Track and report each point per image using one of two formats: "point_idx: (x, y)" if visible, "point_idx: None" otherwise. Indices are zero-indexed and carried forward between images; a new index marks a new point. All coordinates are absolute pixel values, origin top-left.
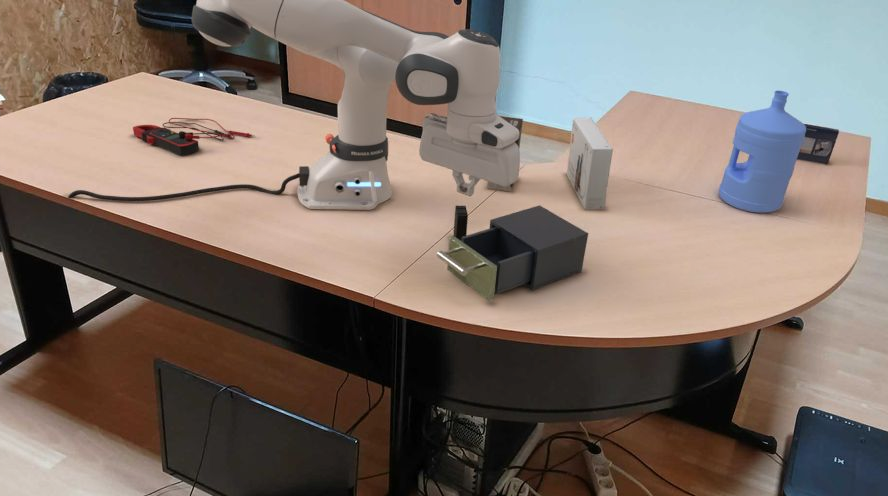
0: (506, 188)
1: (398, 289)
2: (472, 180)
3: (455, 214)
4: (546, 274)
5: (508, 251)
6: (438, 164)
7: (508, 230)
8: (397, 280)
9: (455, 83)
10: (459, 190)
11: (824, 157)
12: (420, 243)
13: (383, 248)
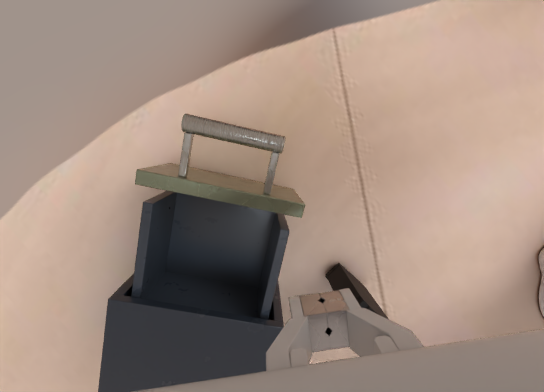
0: None
1: (318, 80)
2: (282, 353)
3: (382, 313)
4: None
5: (227, 293)
6: (539, 332)
7: (219, 320)
8: (340, 102)
9: None
10: (338, 295)
11: None
12: (394, 229)
13: (433, 167)
